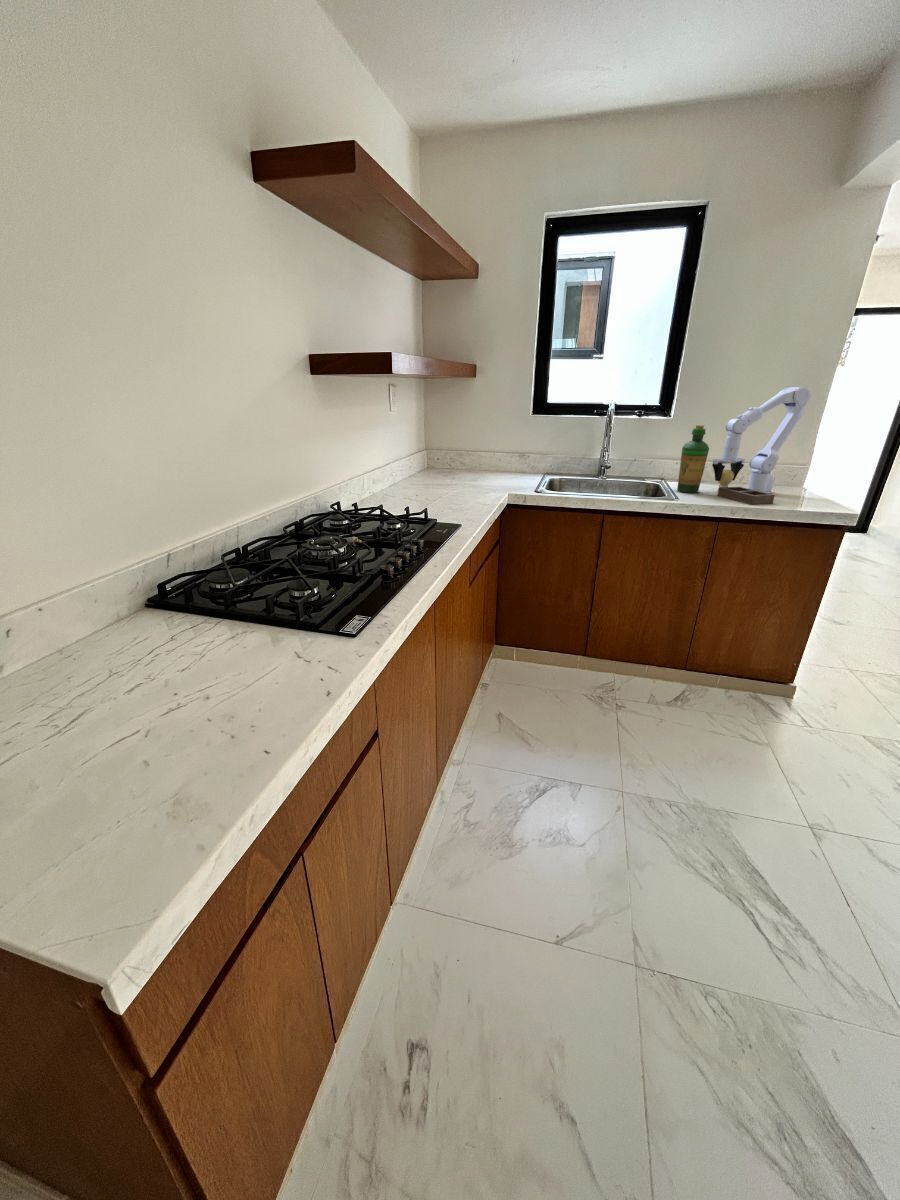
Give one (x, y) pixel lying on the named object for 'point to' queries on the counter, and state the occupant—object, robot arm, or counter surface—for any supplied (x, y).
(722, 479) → the light bulb
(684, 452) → the bottle
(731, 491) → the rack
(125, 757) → the counter surface
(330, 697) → the counter surface
